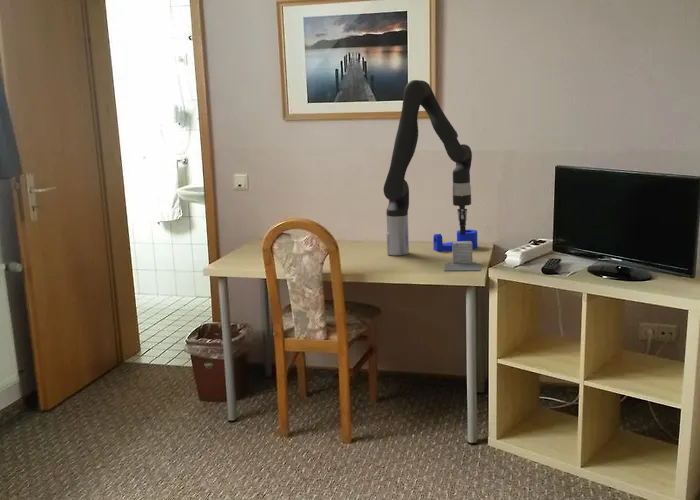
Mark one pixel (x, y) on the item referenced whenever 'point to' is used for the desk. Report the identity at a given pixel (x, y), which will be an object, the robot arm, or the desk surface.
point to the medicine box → (462, 252)
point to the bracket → (469, 236)
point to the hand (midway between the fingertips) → (463, 234)
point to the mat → (462, 267)
